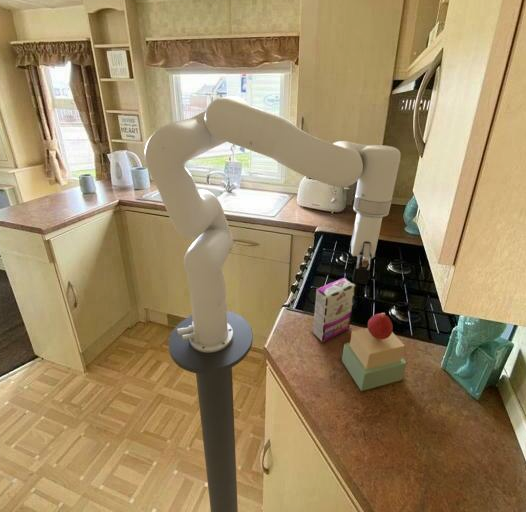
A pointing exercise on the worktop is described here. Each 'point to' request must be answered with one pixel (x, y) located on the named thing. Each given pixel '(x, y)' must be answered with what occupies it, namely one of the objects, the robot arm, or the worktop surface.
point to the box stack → (374, 359)
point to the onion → (380, 326)
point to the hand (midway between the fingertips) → (359, 271)
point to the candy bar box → (333, 309)
